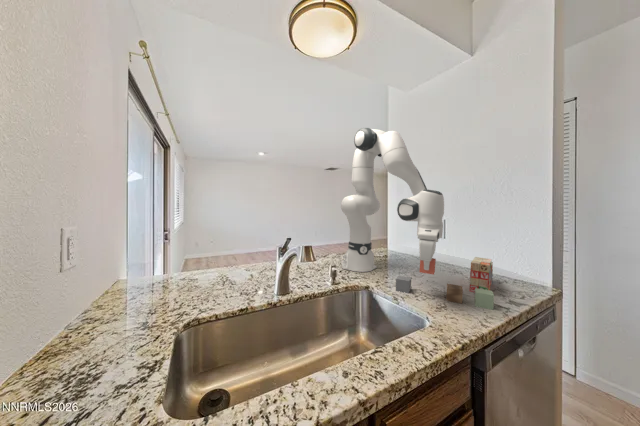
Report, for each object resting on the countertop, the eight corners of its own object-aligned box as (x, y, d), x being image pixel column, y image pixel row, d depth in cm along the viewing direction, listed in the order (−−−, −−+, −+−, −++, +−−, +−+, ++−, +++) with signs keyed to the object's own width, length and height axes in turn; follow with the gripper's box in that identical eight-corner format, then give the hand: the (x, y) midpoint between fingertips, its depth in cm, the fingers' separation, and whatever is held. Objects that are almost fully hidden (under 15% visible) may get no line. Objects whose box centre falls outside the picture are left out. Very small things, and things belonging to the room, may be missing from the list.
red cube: (419, 272, 91) (420, 259, 91) (421, 269, 96) (421, 256, 95) (433, 274, 89) (434, 261, 88) (434, 271, 93) (435, 258, 93)
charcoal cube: (395, 291, 96) (396, 278, 96) (398, 287, 100) (398, 275, 100) (408, 293, 93) (409, 281, 93) (410, 289, 98) (411, 277, 97)
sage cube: (475, 306, 83) (476, 292, 82) (474, 301, 87) (475, 288, 87) (493, 310, 80) (493, 295, 80) (491, 304, 84) (491, 290, 84)
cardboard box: (476, 278, 113) (477, 253, 112) (492, 281, 109) (493, 255, 108) (469, 291, 97) (470, 261, 96) (488, 295, 93) (489, 264, 92)
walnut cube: (446, 300, 87) (446, 287, 87) (446, 296, 91) (447, 283, 91) (462, 304, 85) (462, 290, 84) (461, 299, 89) (462, 285, 89)
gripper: (423, 228, 102) (422, 260, 103) (417, 234, 84) (414, 272, 85) (440, 230, 99) (438, 262, 100) (436, 236, 81) (434, 276, 82)
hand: (427, 267), depth 92 cm, fingers closed on red cube, 5 cm apart
